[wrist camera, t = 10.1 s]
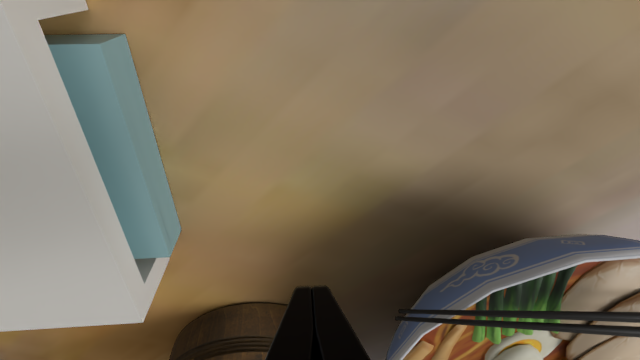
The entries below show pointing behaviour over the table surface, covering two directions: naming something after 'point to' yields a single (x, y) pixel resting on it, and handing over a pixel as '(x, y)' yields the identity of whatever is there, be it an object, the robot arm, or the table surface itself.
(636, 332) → the ramen bowl
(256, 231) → the table surface
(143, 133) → the light blue slab
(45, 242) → the white box
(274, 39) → the table surface
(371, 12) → the table surface
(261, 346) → the wooden container
